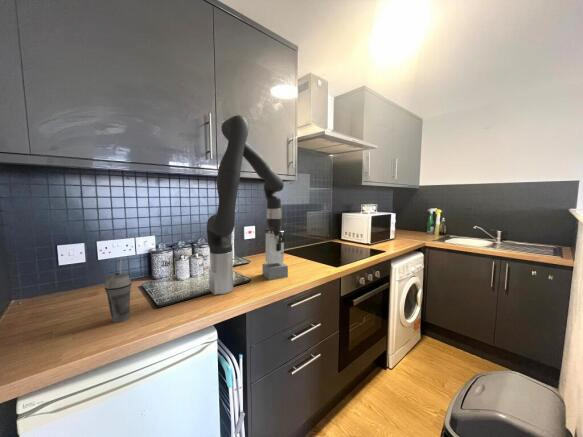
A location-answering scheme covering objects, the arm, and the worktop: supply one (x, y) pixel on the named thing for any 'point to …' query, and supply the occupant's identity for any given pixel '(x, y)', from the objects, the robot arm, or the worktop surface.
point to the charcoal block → (275, 270)
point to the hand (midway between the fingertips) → (274, 249)
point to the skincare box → (273, 250)
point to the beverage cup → (118, 295)
